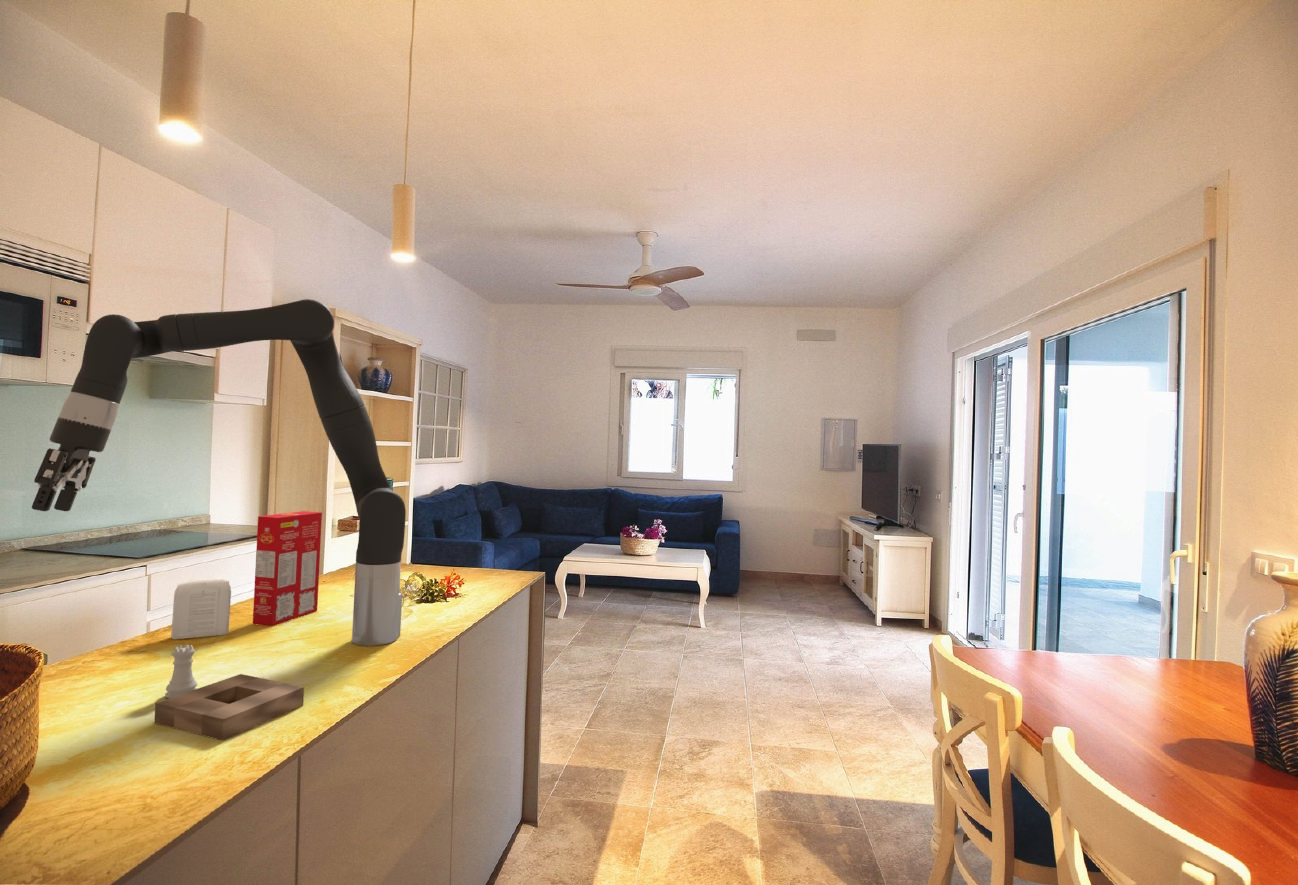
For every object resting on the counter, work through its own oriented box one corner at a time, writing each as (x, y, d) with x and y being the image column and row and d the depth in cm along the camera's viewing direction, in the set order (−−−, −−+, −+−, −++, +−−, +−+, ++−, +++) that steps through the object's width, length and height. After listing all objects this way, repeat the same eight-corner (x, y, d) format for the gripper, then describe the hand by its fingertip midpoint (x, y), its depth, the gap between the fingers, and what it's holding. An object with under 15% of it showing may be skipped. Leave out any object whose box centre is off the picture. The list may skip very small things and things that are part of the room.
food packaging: (298, 609, 165) (303, 511, 165) (317, 611, 164) (322, 512, 164) (252, 624, 150) (258, 516, 150) (272, 626, 149) (277, 517, 149)
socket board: (239, 691, 111) (240, 673, 111) (303, 705, 106) (304, 686, 106) (154, 723, 97) (155, 702, 97) (222, 740, 93) (223, 719, 93)
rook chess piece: (175, 689, 110) (178, 642, 110) (203, 690, 110) (205, 643, 111) (158, 700, 106) (160, 650, 106) (186, 700, 106) (189, 651, 106)
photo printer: (228, 630, 144) (231, 575, 145) (229, 635, 141) (232, 578, 141) (171, 636, 139) (174, 578, 139) (170, 641, 135) (173, 582, 135)
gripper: (95, 423, 111) (59, 515, 108) (124, 432, 124) (92, 515, 121) (41, 410, 108) (3, 505, 105) (76, 421, 121) (43, 505, 118)
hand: (51, 510), depth 113 cm, fingers open, 8 cm apart
